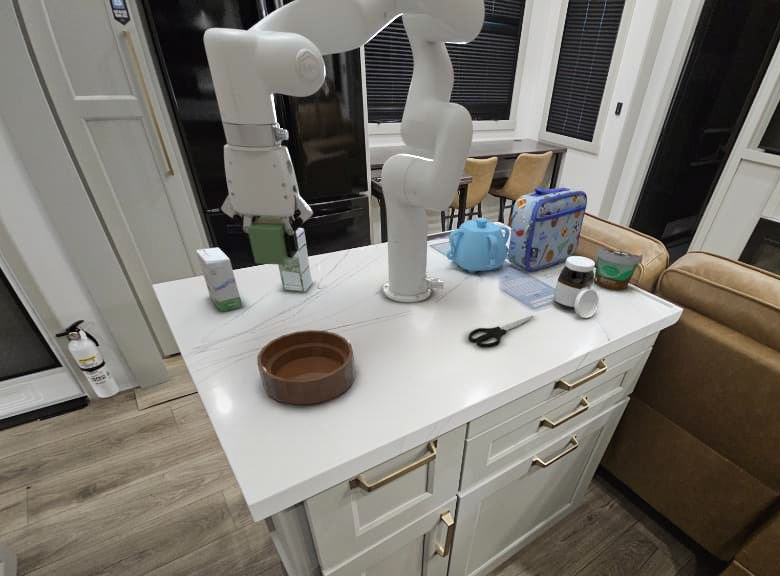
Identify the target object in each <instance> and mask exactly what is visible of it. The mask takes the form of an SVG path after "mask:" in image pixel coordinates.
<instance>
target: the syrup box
mask: <svg viewBox="0 0 780 576" xmlns="http://www.w3.org/2000/svg"><path fill="white" fill-rule="evenodd" d="M296 235H297V241H298V251H297V252H296V254H295V255H294V256H293V258H290V259H289V260H288V262H287V263H286V264H285V265H278V270H279V275H280V279H281V286H282V290H283V291H288V292H301V293H306V292H307V290H308V289H309V288H310V287H311V286H312V284H313V279H312V274H311V267H310V260H309V255H308V248H307V247H308V246H307V240H306V233H305V229H304V228H303V227H299V228H298V229H297V230H296Z"/></svg>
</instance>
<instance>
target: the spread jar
mask: <svg viewBox="0 0 780 576" xmlns="http://www.w3.org/2000/svg"><path fill="white" fill-rule="evenodd" d="M595 265H596V262H595V261H594V260H592V259H591V258H588V257H585V256H582V255H581V256H580V255H572V256H570V257H568V258H567V259H565V266H564V267H563V268H562V269H561V271H560V273H559V276H558V278H557V281H556V286H555V289H554V295H553V302H554V304H555V305H556V306H558V308H561V309H563V310H565V311H571V312H572V311H574V312H575V314H576V315H577V316H578V317H580V318H582V319H583V318H585V319H589V318H591V317H593V316H594V314H595V313H596V312H597V310H598V308H599V302H600V301H599V300H600V298H599V295H598V293H597V292H596V291H595V290H594V289H592V287H593V283H594V277H595V272H594V269H595Z"/></svg>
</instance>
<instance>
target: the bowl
mask: <svg viewBox="0 0 780 576" xmlns="http://www.w3.org/2000/svg"><path fill="white" fill-rule="evenodd" d="M354 355H355V354H354V350H353V346H352V344H351V342H349V340H347V338H345V337H344V336H342V335H340V334H338V333H335V332H331V331H326V330H316V329H315V330H313V329H312V330H311V329H309V330H299V331H293V332H290V333H287V334H284V335H280V336H278V337H275V338H274V339H272V340H270V341H269V342H268V343H267V344H266V345H263V347H262V348H261V350H260V351H259V353H258V354H257V358H256V360H257V361H256V365H257V368H258V372H259V375H260V379H261V383H262V387H263V388H264V391H266V393H267V395H269V396H270V397H272V398H273V399H274V400H277V401H279V402H283V403H287V404H291V405H310V404H316V403H322V402H325V401H327V400H330V399H333V398H336V397H338V396H339V395H340V394H342V393H343V392H345V391H346V390H348V388H349V387H350V386H351V385H352V383H353V382H354V379H355V377H356V376H355V375H356V368H355V367H356V365H355V356H354Z"/></svg>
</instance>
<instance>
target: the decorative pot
mask: <svg viewBox="0 0 780 576" xmlns="http://www.w3.org/2000/svg"><path fill="white" fill-rule="evenodd" d="M503 230H504V233H503ZM510 236H511V231H510V230H509V228H508V227H507V226H506V225H501V224H500V225H498V224H495V223H493V222H491V221H489V219H487V218H484V217H477V218H475V220H473V219H468V220H465V222H463V223H461V224H460V226H459V227H458V228H456V229H454V230H452V231H451V232H450V234H449V236H448V242H449V245H450V250H448V251H447V253H446V258H447V259H448V260H450V261H454V262H455V263H456V265H458V266H459V268H462V269H464V270H467V272H469V273H471V274H472V273H473V274H475V273H477V272H478V271H481V272H482V271H496V270H497V269H498V268H500V267H501V266H502V265H503V264H504V263H505V261H506V259H507V255H508V250H509V246H507V242H509V241H508V240H509V239H510Z"/></svg>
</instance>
